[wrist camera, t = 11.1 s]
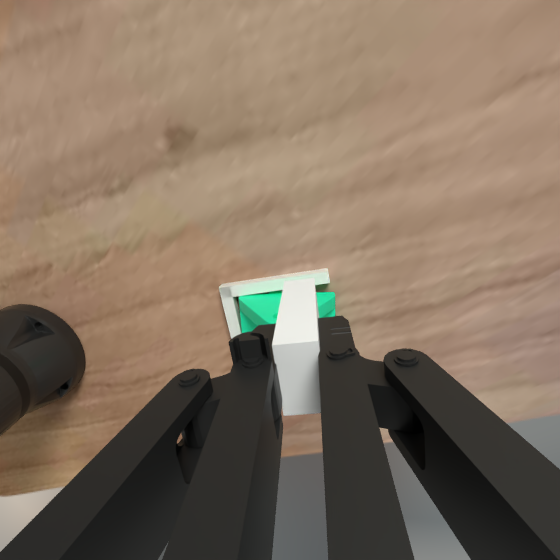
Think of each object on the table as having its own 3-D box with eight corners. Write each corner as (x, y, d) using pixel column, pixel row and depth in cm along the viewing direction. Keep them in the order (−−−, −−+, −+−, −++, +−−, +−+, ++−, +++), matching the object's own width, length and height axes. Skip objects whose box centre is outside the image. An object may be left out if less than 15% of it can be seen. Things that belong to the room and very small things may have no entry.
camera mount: (247, 342, 50) (231, 387, 40) (242, 291, 47) (224, 325, 38) (334, 341, 48) (340, 387, 39) (333, 289, 46) (339, 323, 36)
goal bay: (327, 268, 45) (328, 271, 44) (345, 388, 50) (346, 395, 49) (221, 284, 47) (218, 287, 46) (249, 398, 52) (247, 405, 51)
